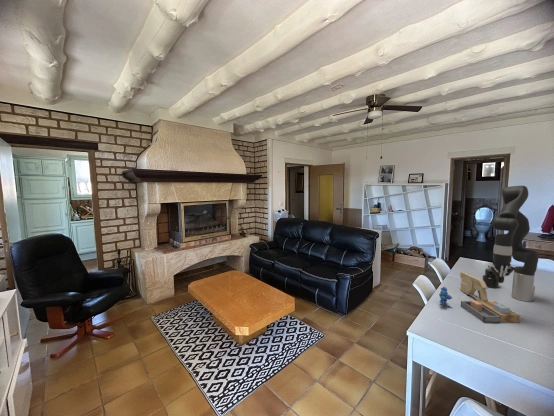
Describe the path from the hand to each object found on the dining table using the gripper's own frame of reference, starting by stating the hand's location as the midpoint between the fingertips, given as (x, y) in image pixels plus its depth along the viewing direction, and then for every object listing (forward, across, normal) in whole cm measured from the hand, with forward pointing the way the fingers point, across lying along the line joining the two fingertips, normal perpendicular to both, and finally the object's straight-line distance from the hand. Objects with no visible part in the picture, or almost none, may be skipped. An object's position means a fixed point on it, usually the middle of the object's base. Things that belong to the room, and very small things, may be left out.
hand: (500, 282), depth 132 cm
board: (+19, +2, +1) cm, 19 cm away
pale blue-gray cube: (+15, +2, +5) cm, 16 cm away
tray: (+18, +11, +2) cm, 22 cm away
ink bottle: (+19, -27, -39) cm, 51 cm away
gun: (+19, 0, -20) cm, 27 cm away
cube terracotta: (+16, +9, -2) cm, 18 cm away
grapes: (+19, +25, -7) cm, 32 cm away
